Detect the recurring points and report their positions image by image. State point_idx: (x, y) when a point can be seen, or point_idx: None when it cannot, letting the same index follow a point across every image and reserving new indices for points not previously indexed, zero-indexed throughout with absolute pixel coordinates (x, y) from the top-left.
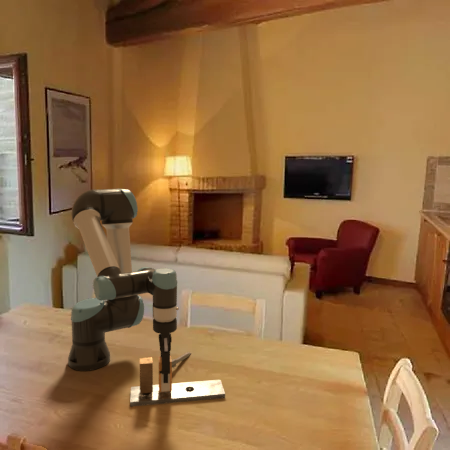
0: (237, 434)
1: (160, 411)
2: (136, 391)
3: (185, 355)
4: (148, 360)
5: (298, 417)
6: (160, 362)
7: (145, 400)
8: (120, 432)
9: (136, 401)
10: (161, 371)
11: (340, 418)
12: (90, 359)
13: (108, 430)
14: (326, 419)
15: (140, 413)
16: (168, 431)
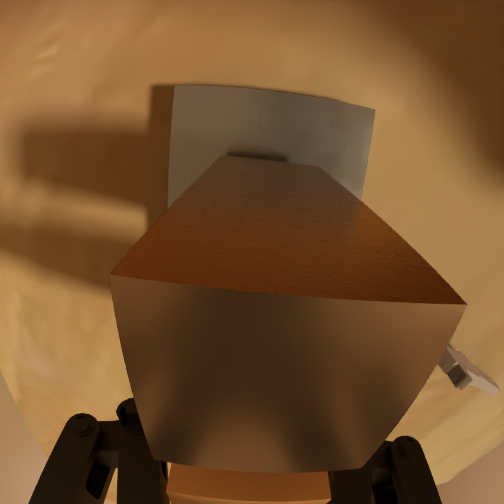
0: (36, 402)
1: (110, 250)
2: (303, 135)
3: (486, 391)
4: (268, 442)
5: (111, 480)
6: (169, 496)
7: (171, 185)
8: (9, 74)
9: (172, 126)
10: (130, 425)
11: (115, 498)
12: None
13: (32, 22)
14: (110, 491)
15: (105, 148)
16: (6, 259)
